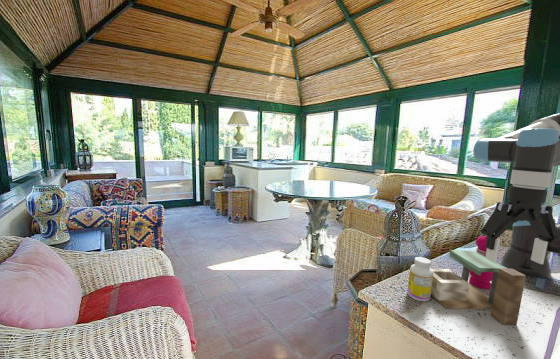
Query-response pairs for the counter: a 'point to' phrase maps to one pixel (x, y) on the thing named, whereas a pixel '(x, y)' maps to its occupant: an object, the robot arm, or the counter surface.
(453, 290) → the awning station
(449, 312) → the counter surface
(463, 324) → the counter surface
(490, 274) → the pepper mill
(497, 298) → the walnut peg
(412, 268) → the supplement bottle
